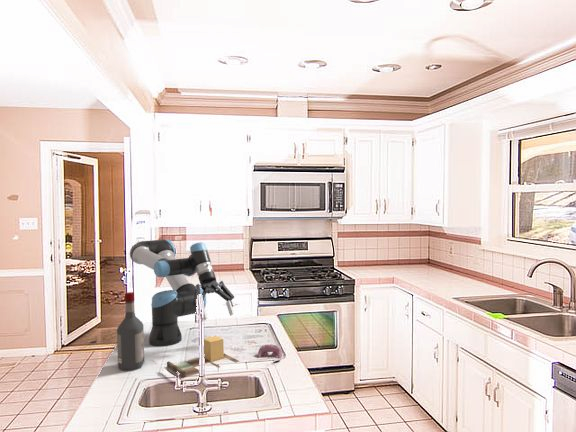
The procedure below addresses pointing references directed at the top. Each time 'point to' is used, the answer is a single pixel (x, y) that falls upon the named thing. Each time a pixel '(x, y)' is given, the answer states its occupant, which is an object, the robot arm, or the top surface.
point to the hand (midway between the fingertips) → (219, 317)
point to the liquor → (130, 338)
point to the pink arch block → (270, 348)
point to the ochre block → (213, 348)
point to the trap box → (191, 366)
